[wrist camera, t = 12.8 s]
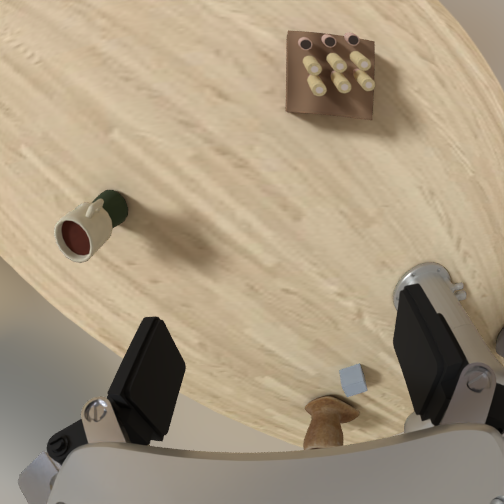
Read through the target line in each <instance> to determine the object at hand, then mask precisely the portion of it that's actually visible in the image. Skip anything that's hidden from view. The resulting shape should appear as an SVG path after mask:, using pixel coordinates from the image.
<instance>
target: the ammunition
mask: <svg viewBox="0 0 504 504" xmlns="http://www.w3.org/2000/svg"><path fill="white" fill-rule="evenodd" d="M344 38H345V40H346V42H348V43H349V44H350V45H353V46H355V45H357V44H358V43H359V38H358V36H356V35H355V34H353V33H346V34H345V35H344ZM321 39H322V42H323V43H324V44H325V45H326V46H327V47H334V46H335V45H336V39H335V38H334V37H332V36H331V35H328V34H325V35H323V36H322V38H321ZM298 44H299V46H300V47H301V48H302V49H303V50H309V49H311V47H312V42H311V41H310V40H309V39H308V38H306V37H302V38H300V39H299V40H298ZM350 60H351V61H352V62H353V63H354V64H355V65H356V66H357V67H358V68H359V69H354V70H353V75H354V78H355V79H356V81H357V82H358V83H359V84H360V85H361V87H362V88H363V89H364V90H366V91H372V90H373V89H374V88H375V82H374V80H373V79H372V78H371V77H370V76H369V75H367V74H366V73H365V72H364V71H366V70H369V69H370V67H371V62H370V60H369V59H367V58H366V57H365V56H364V55H362V54H361V53H360V52H358V51H353V52H352V53H351V54H350ZM327 62H328V63H329V64H330V65H331V67H332V68H333V69H334V71H332V72H331V80H332V81H333V83H334V84H335V86H336V88H337V89H338V90H339V92H341V93H348V92H349V91H350V90H351V84H350V82H349V81H348V80H347V79H346V78H345V76H344V75H343V74H342V72H344V71H345V70H346V69H347V64H346V62H345V61H344V60H343V59H342V58H341V57H339V56H338V55H337V54H336V53H330V54H328V55H327ZM303 64H304V66H305V68H306V69H307V71H308V73H309V74H310V75H309V77H308V79H307V82H308V84H309V86H310V88H311V90H312V92H313V94H314V95H316V96H323V95H324V94H325V93H326V91H327V89H326V86H325V85H324V83H323V82H322V80H321V79H320V77H319V76H318V75H319V74H320V73H321V71H322V67H321V65H320V64H319V63H318V61H317V60H316V59H315V58H314V57H313V56H306V57H304V59H303Z"/></svg>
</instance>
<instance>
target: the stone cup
mask: <svg viewBox="0 0 504 504" xmlns="http://www.w3.org/2000/svg"><path fill="white" fill-rule="evenodd" d="M305 410H306V411H307V412H308V413H309V414H310V415H311V416H312V420H311V423H310V426H309V428H308V430H307V433H306V436H305V439H304V444H303V447H304V450H311V449H321V448H329V447H337V446H343V432H342V429H341V425H340V423H347V422H349V421H352V420H354V419H355V418H356V417H358V416H359V414H360V412H359V411H358V410H356V409H355V408H353V407H352V406H350V405H348V404H346V403H345V402H343V401H341V400H339V399H337V398H334V397H331V396H324V397H320V398H317V399H315V400H313V401H311V402H309V403H308V404H307V405H306V406H305Z"/></svg>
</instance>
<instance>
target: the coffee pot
mask: <svg viewBox="0 0 504 504" xmlns="http://www.w3.org/2000/svg"><path fill="white" fill-rule="evenodd" d="M496 352H497V353H498V354H499V355H501V356H502V357H504V328H503V329H502V330H501V332H500V333H499V335H498V337H497V341H496Z"/></svg>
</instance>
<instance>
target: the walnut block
mask: <svg viewBox="0 0 504 504" xmlns="http://www.w3.org/2000/svg"><path fill="white" fill-rule="evenodd" d="M323 35H325V34H323V33H314V32H302V31H288V34H287V62H286V111H287V112H298V113H312V114H324V115H334V116H344V117H352V118H360V119H367V120H372V113H373V95H374V89H373V90H372V91H366V90H364V89H363V88H362V87H361V85H360V84H359V83H358V82H357V81H356V79H355V78H354V75H353V70H354V69H359V68H358V67H357V66H356V65H355V64H354V63H353V62H352V61H351V60H350V54H351V53H352V52H353V51H358V52H360V53H361V54H362V55H364V56H365V57H366V58H367V59H369V60H370V62H371V67H370V69H369V70H366V71H364V72H365V73H366V74H367V75H369V76H370V77H371V78H372V79H373V80H374V56H375V47H374V41H369V40H364V39H359V43H358V44H357V45H355V46H353V45H350V44H349V43H348V42H346V40H345V38H344V36H339V35H332V34H328V35H331V36H332V37H334V38H335V39H336V45H335V46H334V47H327V46H326V45H325V44H324V43H323V42H322V39H321V38H322V36H323ZM302 37H306V38H308V39H309V40H310V41H311V42H312V47H311V49H309V50H303V49H302V48H301V47H300V46H299V44H298V40H299V39H300V38H302ZM330 53H336V54H337V55H338V56H339V57H341V58H342V59H343V60H344V61H345V62H346V64H347V69H346V70H345V71H344V72H342V74H343V75H344V76H345V78H346V79H347V80H348V81H349V82H350V84H351V90H350V91H349V92H348V93H341V92H339V90H338V89H337V88H336V86H335V84H334V83H333V81H332V80H331V72H332V71H334V69H333V68H332V67H331V65H330V64H329V63H328V62H327V55H328V54H330ZM306 56H313V57H314V58H315V59H316V60H317V61H318V63H319V64H320V65H321V67H322V71H321V73H320V74H319V75H318V76H319V77H320V79H321V80H322V82H323V83H324V85H325V86H326V89H327V91H326V93H325V94H324V95H323V96H316V95H314V94H313V92H312V90H311V88H310V86H309V84H308V82H307V79H308V77H309V75H310V74H309V73H308V71H307V69H306V68H305V66H304V64H303V59H304V57H306Z"/></svg>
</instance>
